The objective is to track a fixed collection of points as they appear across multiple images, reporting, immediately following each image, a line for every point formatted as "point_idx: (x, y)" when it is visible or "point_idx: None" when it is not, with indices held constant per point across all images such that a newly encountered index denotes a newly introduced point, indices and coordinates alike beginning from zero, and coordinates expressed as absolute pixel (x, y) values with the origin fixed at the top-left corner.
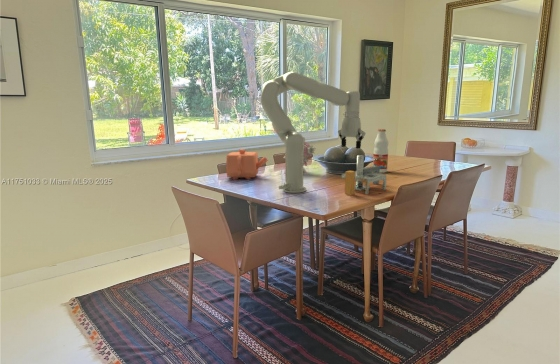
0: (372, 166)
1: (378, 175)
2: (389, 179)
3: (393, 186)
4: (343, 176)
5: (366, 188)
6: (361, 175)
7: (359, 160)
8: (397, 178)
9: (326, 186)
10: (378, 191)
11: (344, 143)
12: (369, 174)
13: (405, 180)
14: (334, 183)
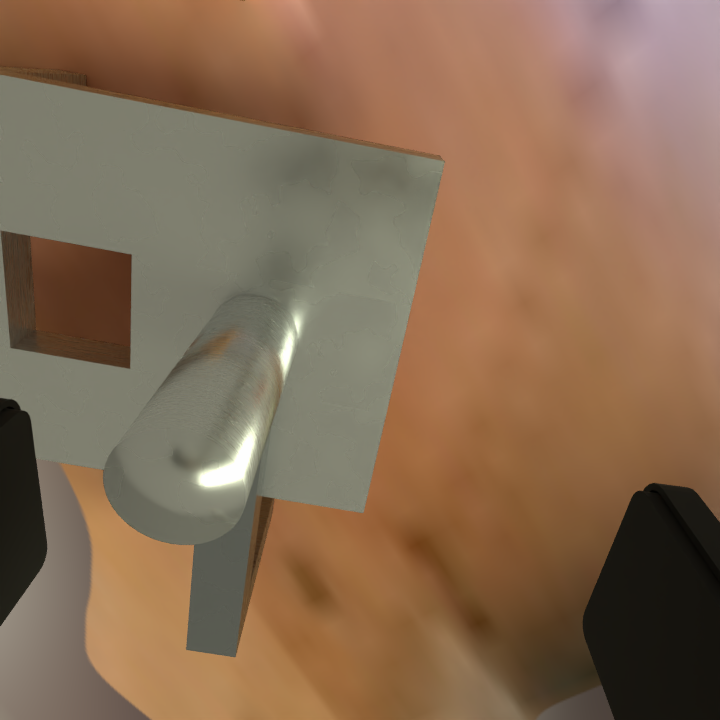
0: (236, 599)
1: (24, 375)
2: (256, 664)
3: (94, 497)
4: (406, 150)
5: (36, 71)
6: (174, 254)
7: (177, 385)
8: (228, 711)
9: (625, 123)
10: (67, 267)
11: (647, 653)
12: (139, 368)
13: (149, 688)
14: (600, 305)
